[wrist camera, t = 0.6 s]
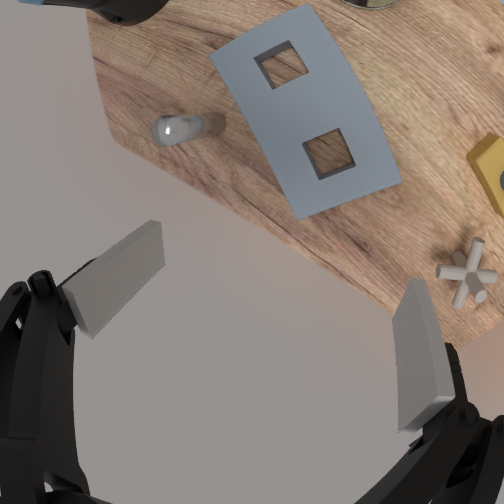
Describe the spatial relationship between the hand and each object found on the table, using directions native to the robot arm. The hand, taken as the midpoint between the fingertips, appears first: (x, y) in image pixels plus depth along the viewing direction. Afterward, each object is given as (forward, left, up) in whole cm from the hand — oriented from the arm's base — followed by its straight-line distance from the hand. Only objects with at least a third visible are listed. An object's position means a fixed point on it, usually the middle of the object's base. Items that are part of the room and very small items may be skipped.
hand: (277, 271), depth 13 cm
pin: (-12, -9, -24) cm, 28 cm away
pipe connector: (+18, +16, -24) cm, 34 cm away
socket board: (-8, +2, -24) cm, 25 cm away
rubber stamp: (+8, +25, -24) cm, 35 cm away
